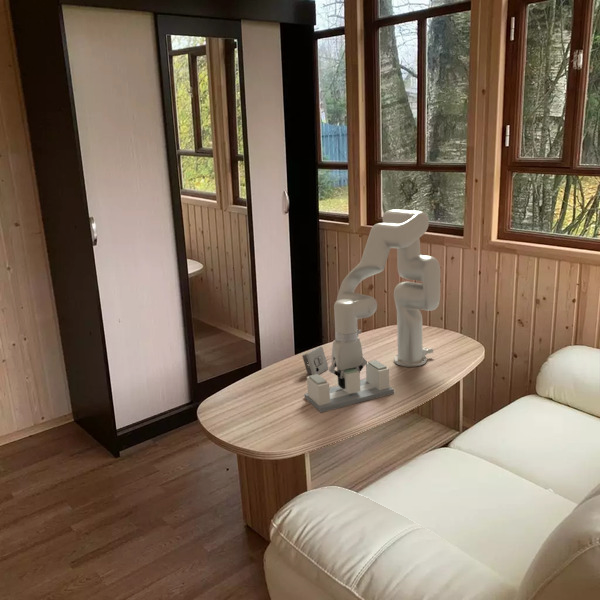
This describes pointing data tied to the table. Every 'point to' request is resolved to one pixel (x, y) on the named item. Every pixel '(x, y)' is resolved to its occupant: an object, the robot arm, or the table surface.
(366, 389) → the rail board
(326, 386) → the mounted modules
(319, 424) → the table surface
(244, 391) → the table surface
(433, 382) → the table surface
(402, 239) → the robot arm
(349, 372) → the block
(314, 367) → the electrical switch
